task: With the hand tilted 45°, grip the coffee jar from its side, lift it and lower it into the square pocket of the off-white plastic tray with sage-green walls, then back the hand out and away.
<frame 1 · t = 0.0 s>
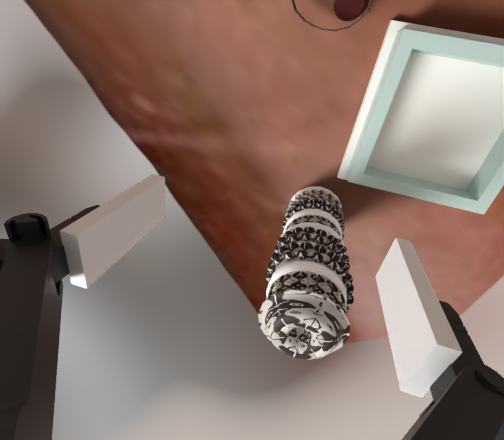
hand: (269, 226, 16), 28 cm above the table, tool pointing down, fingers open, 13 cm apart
decorative candle: (315, 210, 45), on the table
pocket tray: (435, 124, 36), on the table
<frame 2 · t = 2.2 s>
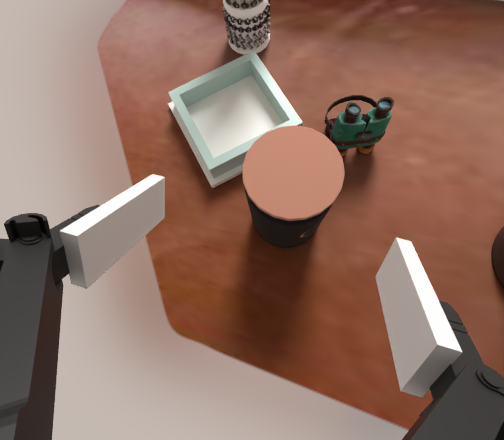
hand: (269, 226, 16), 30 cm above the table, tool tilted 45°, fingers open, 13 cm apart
coffee jar: (285, 217, 47), on the table
decorative candle: (249, 39, 57), on the table
binoculars: (346, 134, 50), on the table
pocket tray: (236, 122, 52), on the table
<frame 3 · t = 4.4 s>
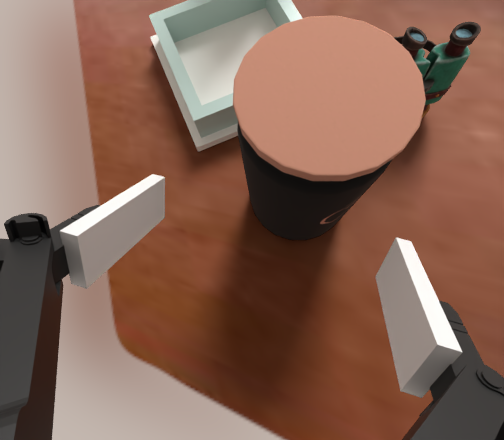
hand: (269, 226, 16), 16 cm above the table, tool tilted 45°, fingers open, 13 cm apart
coffee jar: (296, 198, 33), on the table
binoculars: (389, 93, 36), on the table
pocket tray: (239, 68, 38), on the table
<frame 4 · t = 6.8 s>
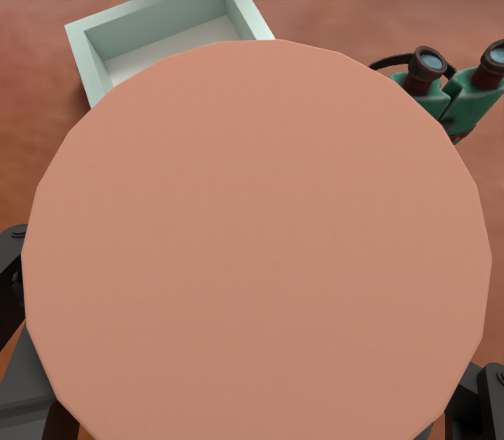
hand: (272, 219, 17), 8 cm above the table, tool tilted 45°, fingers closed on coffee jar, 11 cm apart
coffee jar: (261, 277, 24), on the table, touching gripper
binoculars: (388, 128, 27), on the table
pocket tray: (191, 93, 29), on the table
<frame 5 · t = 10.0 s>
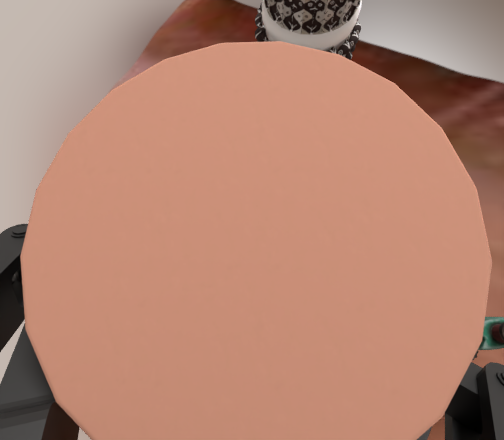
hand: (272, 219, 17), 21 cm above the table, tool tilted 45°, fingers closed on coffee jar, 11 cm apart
coffee jar: (261, 278, 24), point 13 cm above the table, touching gripper
decorative candle: (291, 139, 42), on the table
binoculars: (422, 306, 35), on the table
when the fingers open (10 cm above the table, at t = 13.3 s): coffee jar drops 1 cm, resting on pocket tray.
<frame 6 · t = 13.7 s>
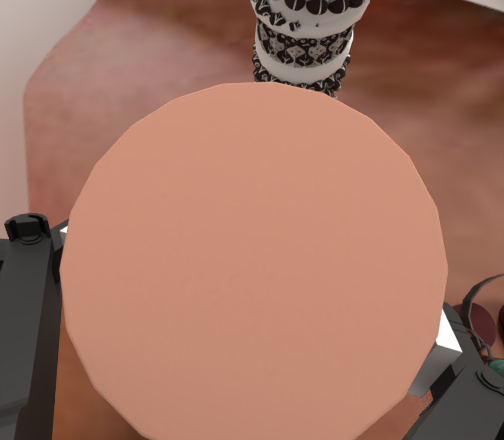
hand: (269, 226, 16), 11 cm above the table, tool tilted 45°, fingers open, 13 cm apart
coffee jar: (263, 281, 25), point 1 cm above the table, touching pocket tray
decorative candle: (293, 104, 31), on the table
binoculars: (489, 333, 24), on the table
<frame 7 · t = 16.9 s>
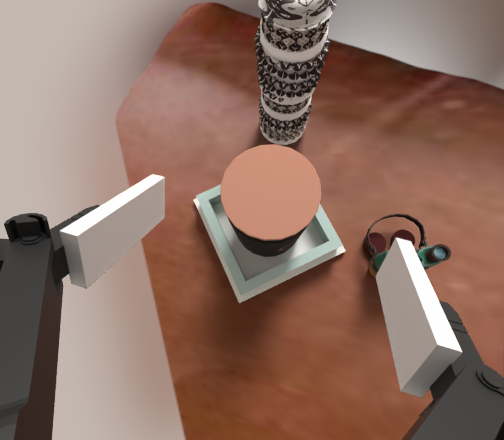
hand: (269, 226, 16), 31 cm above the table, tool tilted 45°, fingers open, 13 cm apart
coffee jar: (267, 225, 47), point 1 cm above the table, touching pocket tray
decorative candle: (282, 125, 52), on the table
binoculars: (385, 248, 47), on the table
pocket tray: (266, 225, 48), on the table
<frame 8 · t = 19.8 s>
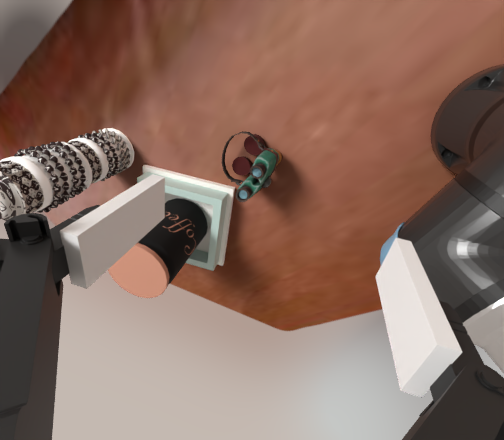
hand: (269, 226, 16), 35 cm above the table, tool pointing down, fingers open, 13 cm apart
coffee jar: (186, 218, 59), point 1 cm above the table, touching pocket tray
decorative candle: (116, 149, 57), on the table
binoculars: (253, 157, 51), on the table
pocket tray: (187, 216, 60), on the table
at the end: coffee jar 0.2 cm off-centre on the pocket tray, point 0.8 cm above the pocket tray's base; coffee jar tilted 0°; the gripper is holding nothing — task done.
